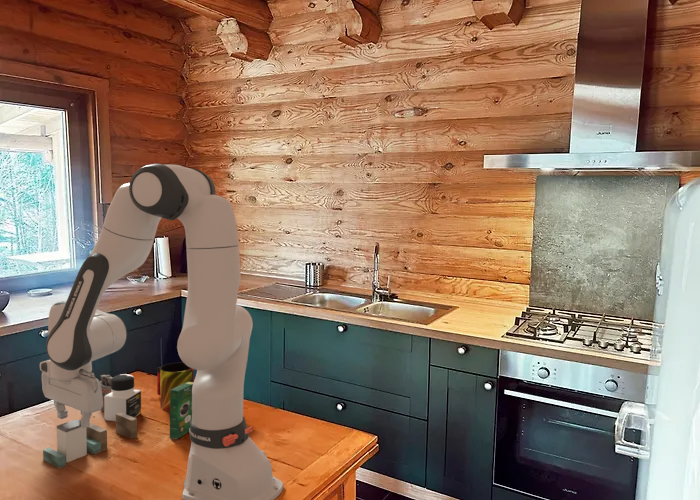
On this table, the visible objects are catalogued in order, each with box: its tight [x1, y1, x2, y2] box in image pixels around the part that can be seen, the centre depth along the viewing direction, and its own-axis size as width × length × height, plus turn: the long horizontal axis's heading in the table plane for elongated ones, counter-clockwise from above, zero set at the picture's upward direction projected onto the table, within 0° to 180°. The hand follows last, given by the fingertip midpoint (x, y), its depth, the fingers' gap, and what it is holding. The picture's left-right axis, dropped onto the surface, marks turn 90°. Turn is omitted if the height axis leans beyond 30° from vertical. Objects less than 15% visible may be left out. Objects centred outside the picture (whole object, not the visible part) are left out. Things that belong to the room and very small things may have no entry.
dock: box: [42, 412, 138, 469], centre depth 133 cm, size 7×20×5 cm, turn 147°
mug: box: [156, 361, 195, 412], centre depth 162 cm, size 10×14×12 cm
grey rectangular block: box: [56, 418, 88, 463], centre depth 129 cm, size 4×5×8 cm
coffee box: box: [169, 382, 194, 440], centre depth 143 cm, size 8×3×13 cm, turn 161°
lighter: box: [99, 374, 114, 412], centre depth 158 cm, size 8×3×10 cm, turn 55°
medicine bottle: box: [103, 373, 142, 422], centre depth 152 cm, size 7×7×12 cm
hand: (73, 422), depth 128 cm, fingers open, 8 cm apart
